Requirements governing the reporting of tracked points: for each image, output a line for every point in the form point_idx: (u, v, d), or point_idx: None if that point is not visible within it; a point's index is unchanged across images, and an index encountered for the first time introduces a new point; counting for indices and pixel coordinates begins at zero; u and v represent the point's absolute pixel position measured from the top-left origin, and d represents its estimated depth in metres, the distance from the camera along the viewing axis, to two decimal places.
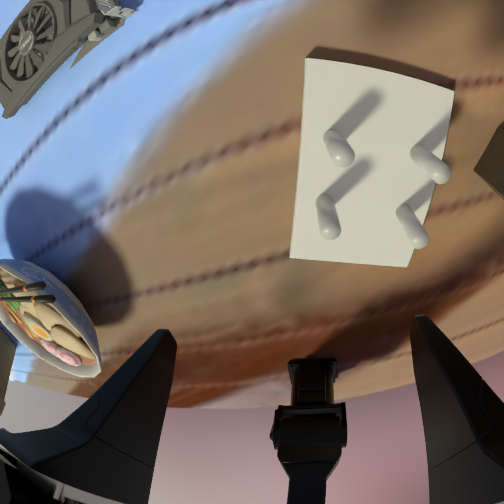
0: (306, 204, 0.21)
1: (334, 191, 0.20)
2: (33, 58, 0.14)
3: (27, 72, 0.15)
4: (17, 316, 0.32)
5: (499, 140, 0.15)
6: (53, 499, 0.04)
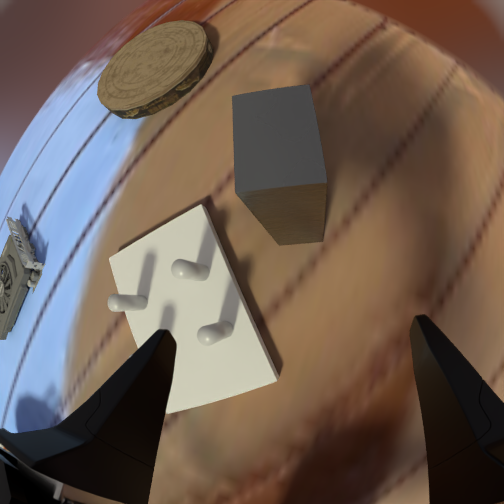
0: None
1: None
2: (5, 299, 0.29)
3: (4, 308, 0.29)
4: None
5: None
6: (53, 499, 0.04)
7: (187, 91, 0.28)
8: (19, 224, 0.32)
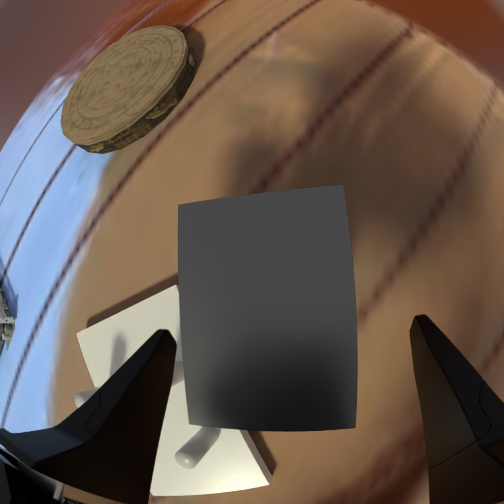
0: None
1: None
2: None
3: None
4: None
5: None
6: (53, 499, 0.04)
7: (162, 119, 0.23)
8: None
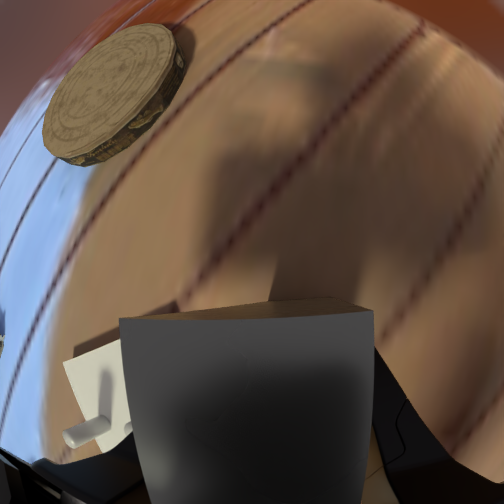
0: None
1: None
2: None
3: None
4: None
5: None
6: None
7: (146, 128, 0.20)
8: None
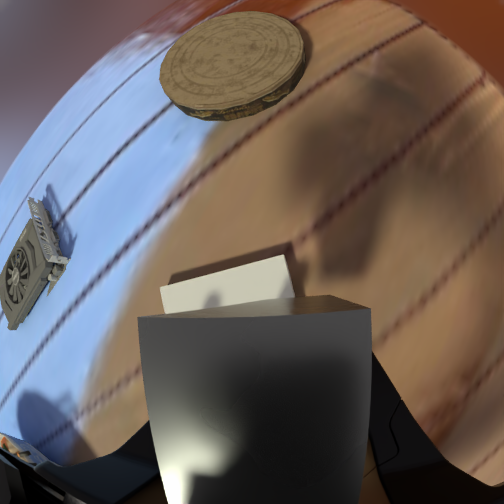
0: None
1: None
2: (20, 289, 0.28)
3: (18, 298, 0.28)
4: None
5: None
6: None
7: (273, 103, 0.25)
8: (42, 207, 0.31)
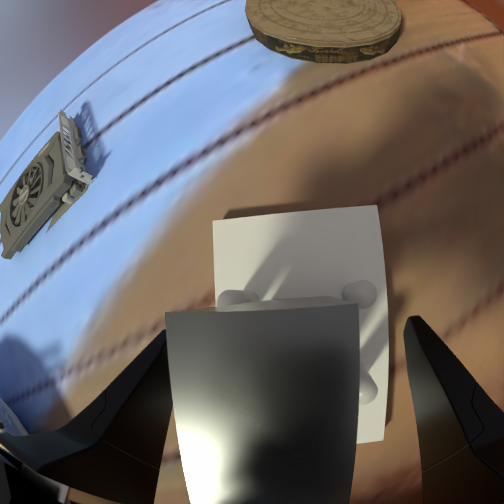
0: None
1: None
2: (26, 209, 0.24)
3: (21, 220, 0.24)
4: None
5: None
6: (58, 502, 0.04)
7: (368, 58, 0.20)
8: (72, 123, 0.27)
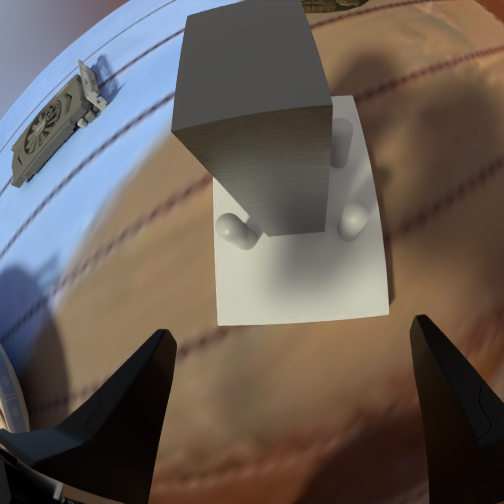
0: (226, 246, 0.19)
1: (254, 223, 0.19)
2: (41, 137, 0.25)
3: (35, 148, 0.25)
4: None
5: None
6: (53, 499, 0.04)
7: (344, 9, 0.21)
8: (89, 70, 0.28)
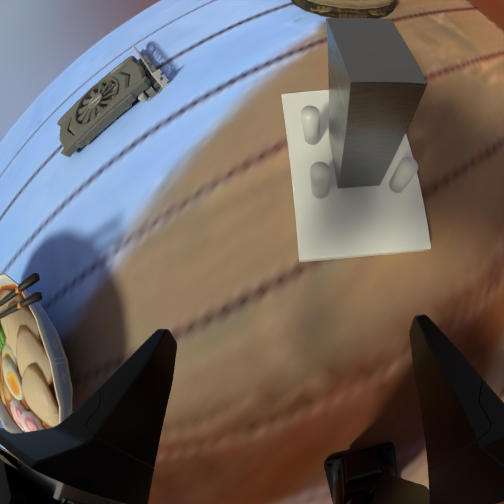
0: (304, 196, 0.23)
1: None
2: (98, 109, 0.29)
3: (91, 118, 0.29)
4: None
5: (331, 142, 0.22)
6: (53, 499, 0.04)
7: (374, 18, 0.25)
8: None
